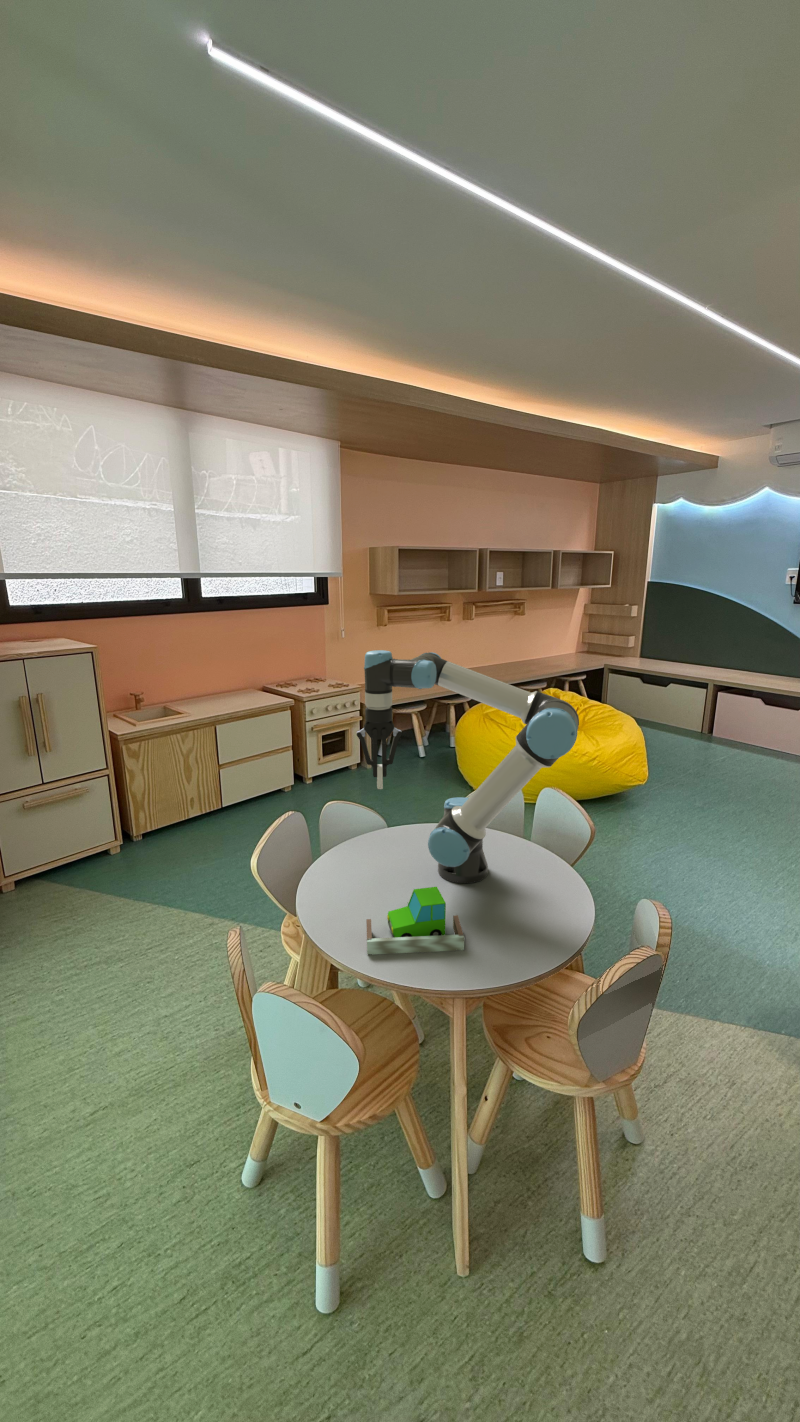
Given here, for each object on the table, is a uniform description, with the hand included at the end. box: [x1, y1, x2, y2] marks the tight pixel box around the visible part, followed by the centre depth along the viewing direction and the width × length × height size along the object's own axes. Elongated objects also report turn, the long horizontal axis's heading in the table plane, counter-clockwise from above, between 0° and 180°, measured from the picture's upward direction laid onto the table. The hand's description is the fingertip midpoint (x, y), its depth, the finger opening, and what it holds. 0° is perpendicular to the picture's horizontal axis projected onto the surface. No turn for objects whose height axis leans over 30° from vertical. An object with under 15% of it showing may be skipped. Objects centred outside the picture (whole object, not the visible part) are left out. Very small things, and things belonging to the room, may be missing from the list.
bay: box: [366, 914, 465, 955], centre depth 151 cm, size 23×10×4 cm, turn 94°
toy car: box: [386, 886, 447, 938], centre depth 153 cm, size 10×13×10 cm
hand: (380, 787), depth 173 cm, fingers closed
